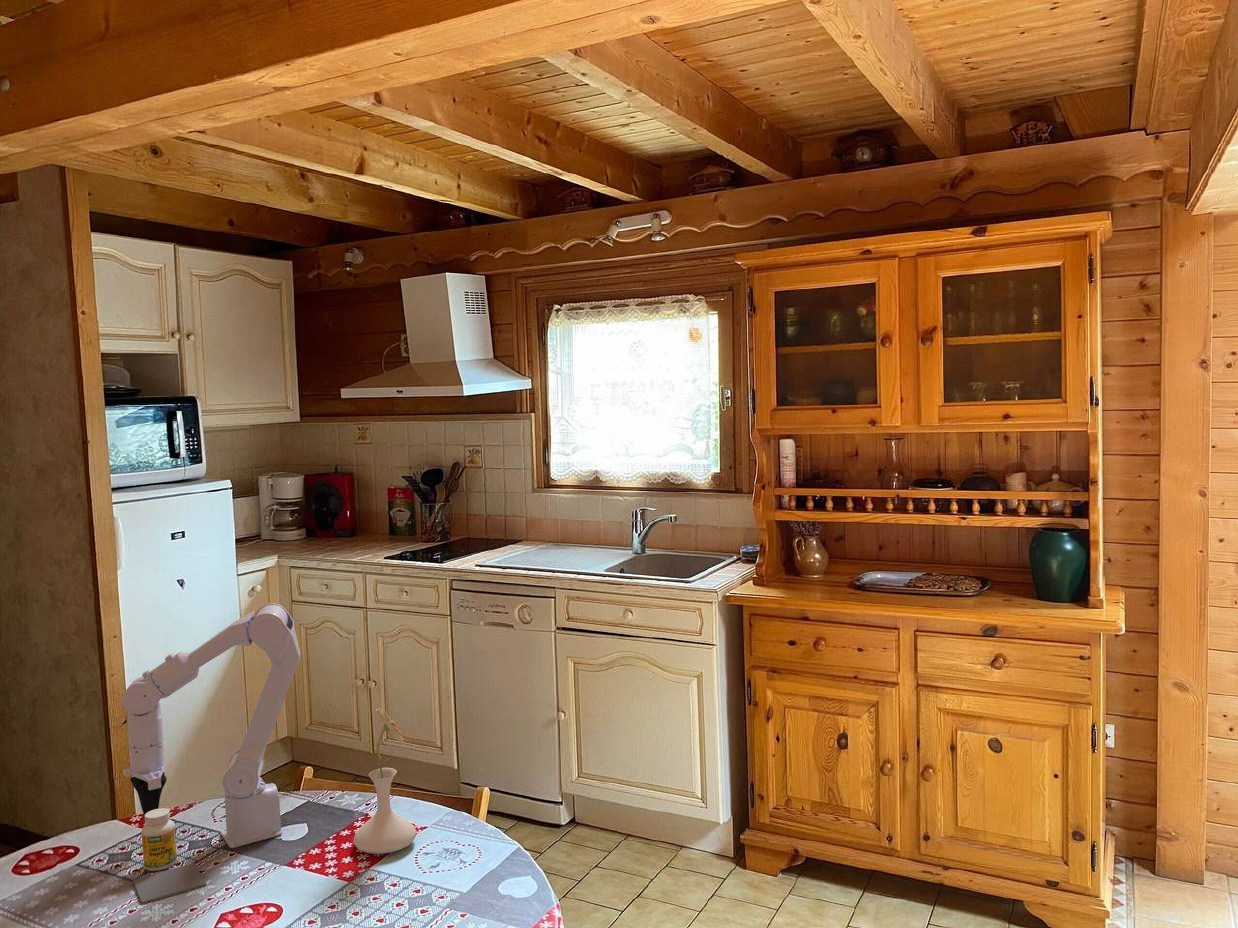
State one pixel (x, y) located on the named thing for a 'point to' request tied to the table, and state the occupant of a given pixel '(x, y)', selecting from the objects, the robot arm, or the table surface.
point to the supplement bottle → (158, 840)
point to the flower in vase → (384, 807)
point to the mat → (169, 883)
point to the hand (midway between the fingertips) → (150, 814)
